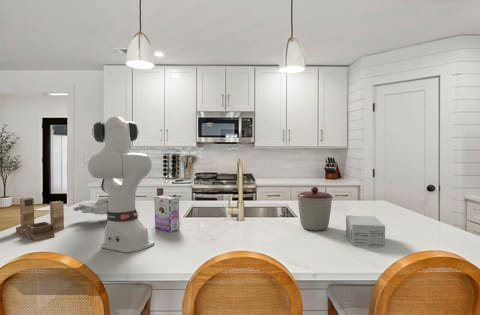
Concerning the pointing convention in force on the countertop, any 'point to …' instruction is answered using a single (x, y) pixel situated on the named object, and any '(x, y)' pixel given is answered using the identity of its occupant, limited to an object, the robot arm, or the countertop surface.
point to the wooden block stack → (32, 222)
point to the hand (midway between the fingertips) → (78, 210)
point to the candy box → (167, 213)
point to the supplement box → (365, 231)
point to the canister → (314, 209)
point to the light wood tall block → (57, 215)
